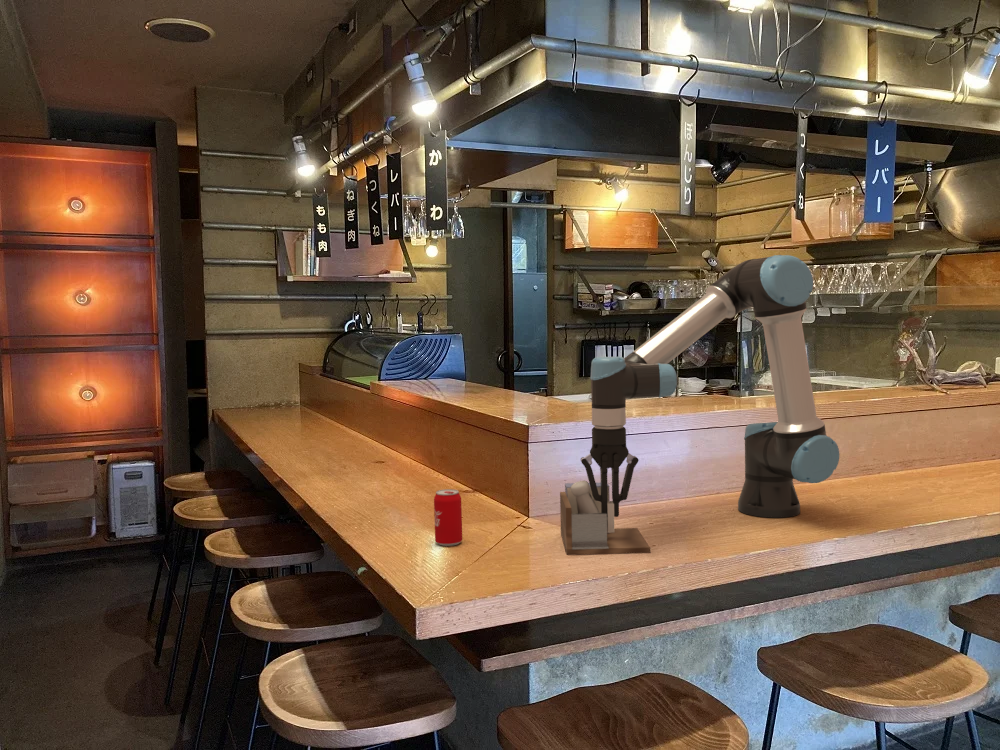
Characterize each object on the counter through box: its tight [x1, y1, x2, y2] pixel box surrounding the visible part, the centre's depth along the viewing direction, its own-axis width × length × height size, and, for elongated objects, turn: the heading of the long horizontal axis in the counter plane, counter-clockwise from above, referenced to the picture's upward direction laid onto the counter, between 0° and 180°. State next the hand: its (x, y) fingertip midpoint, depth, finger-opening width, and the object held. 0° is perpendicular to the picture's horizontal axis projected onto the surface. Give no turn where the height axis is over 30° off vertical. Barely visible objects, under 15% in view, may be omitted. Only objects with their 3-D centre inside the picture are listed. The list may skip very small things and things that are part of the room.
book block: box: [564, 482, 610, 533], centre depth 184 cm, size 10×4×11 cm, turn 90°
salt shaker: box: [571, 480, 600, 513], centre depth 177 cm, size 6×6×13 cm
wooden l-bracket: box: [559, 491, 651, 556], centre depth 178 cm, size 18×16×10 cm
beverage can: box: [433, 488, 463, 547], centre depth 181 cm, size 6×6×12 cm
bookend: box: [572, 513, 609, 549], centre depth 171 cm, size 8×3×7 cm, turn 90°
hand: (610, 531), depth 177 cm, fingers closed
